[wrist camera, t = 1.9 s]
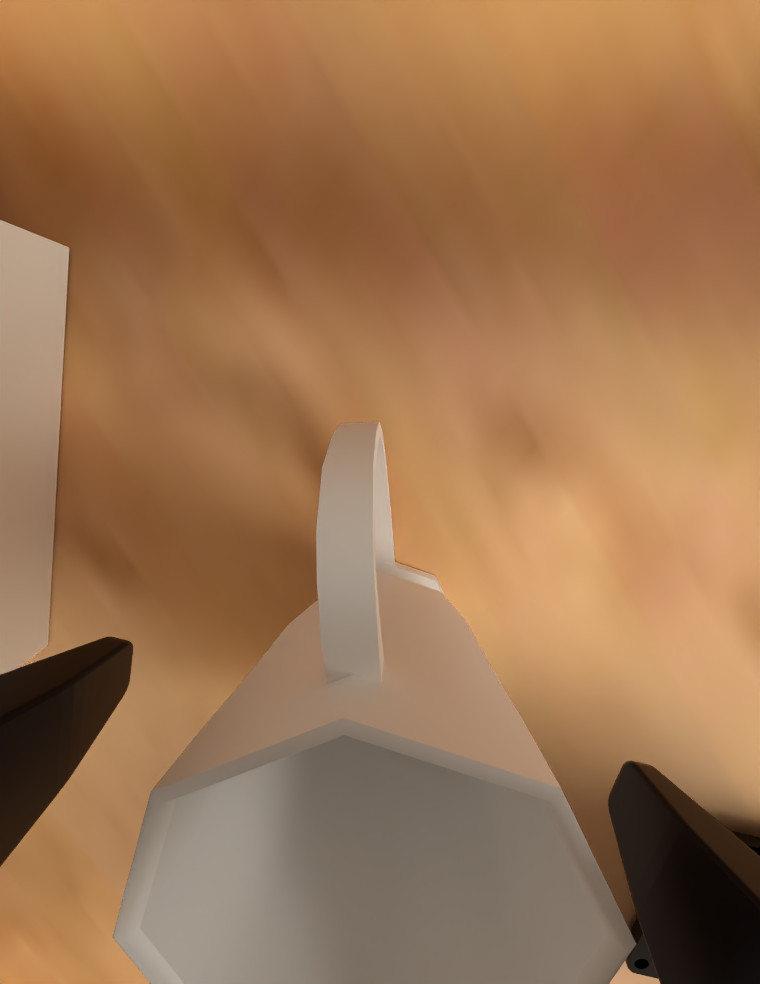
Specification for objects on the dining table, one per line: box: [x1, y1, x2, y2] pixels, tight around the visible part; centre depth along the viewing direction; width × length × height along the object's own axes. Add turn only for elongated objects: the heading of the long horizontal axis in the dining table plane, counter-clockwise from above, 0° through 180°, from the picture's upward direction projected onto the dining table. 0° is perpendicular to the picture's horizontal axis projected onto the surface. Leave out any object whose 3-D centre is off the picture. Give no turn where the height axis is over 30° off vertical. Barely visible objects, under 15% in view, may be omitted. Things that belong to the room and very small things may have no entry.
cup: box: [113, 421, 636, 984], centre depth 9 cm, size 7×10×8 cm
